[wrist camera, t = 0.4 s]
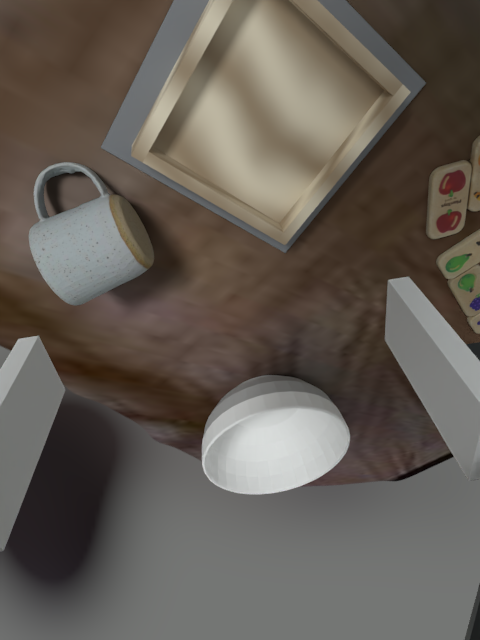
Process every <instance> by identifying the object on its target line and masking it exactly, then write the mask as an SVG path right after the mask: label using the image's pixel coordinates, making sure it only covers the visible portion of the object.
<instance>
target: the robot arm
mask: <svg viewBox="0 0 480 640" xmlns="http://www.w3.org/2000/svg"><path fill="white" fill-rule="evenodd" d="M385 341H386V343H387V344H388V346H389V348H390V349H391V351H392V353H393V355H394V356H395V358H396V360H397V361H398V363H399V365H400V366H401V368H402V370H403V371H404V373H405V375H406V376H407V378H408V380H409V382H410V383H411V385H412V387H413V388H414V390H415V392H416V393H417V395H418V397H419V398H420V400H421V402H422V403H423V405H424V407H425V409H426V410H427V412H428V414H429V415H430V417H431V419H432V420H433V422H434V424H435V425H436V427H437V429H438V431H439V432H440V434H441V436H442V437H443V439H444V441H445V442H446V444H447V446H448V447H449V449H450V451H451V452H452V454H453V456H454V458H455V459H456V461H457V462H458V464H459V466H460V468H461V469H462V471H463V473H464V474H465V476H466V478H467V479H468V481H472V480H478V479H480V342H479V343H472V344H465V343H464V342H463V341H462V339H461V338H460V337H459V336H458V335H457V333H456V332H455V331H454V330H453V329H452V328H451V326H450V325H449V324H448V323H447V322H446V320H445V319H444V318H443V317H442V316H441V314H440V313H439V312H438V311H437V310H436V309H435V307H434V306H433V305H432V304H431V303H430V301H429V300H428V299H427V298H426V297H425V296H424V294H423V293H422V292H421V291H420V290H419V288H418V287H417V286H416V285H415V284H414V282H413V281H412V280H411V279H410V278H409V277H404V278H397V279H391V280H388V288H387V307H386V325H385ZM64 392H65V388H64V386H63V384H62V382H61V380H60V378H59V376H58V374H57V372H56V370H55V368H54V366H53V364H52V362H51V360H50V358H49V356H48V354H47V352H46V350H45V348H44V346H43V344H42V342H41V340H40V338H39V336H34V337H28V338H22V339H18V341H17V342H16V344H15V346H14V347H13V349H12V351H11V352H10V354H9V356H8V357H7V359H6V361H5V362H4V364H3V366H2V367H1V369H0V551H4V548H5V545H6V543H7V540H8V538H9V535H10V533H11V530H12V527H13V524H14V522H15V520H16V517H17V514H18V512H19V509H20V507H21V504H22V501H23V499H24V496H25V494H26V491H27V488H28V486H29V483H30V481H31V478H32V475H33V473H34V470H35V468H36V465H37V462H38V460H39V457H40V455H41V452H42V449H43V447H44V444H45V442H46V439H47V436H48V434H49V431H50V429H51V426H52V423H53V421H54V418H55V416H56V413H57V410H58V408H59V405H60V403H61V400H62V397H63V395H64ZM465 640H480V585H479V589H478V592H477V596H476V599H475V603H474V607H473V611H472V614H471V618H470V622H469V625H468V629H467V633H466V637H465Z"/></svg>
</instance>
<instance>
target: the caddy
mask: <svg viewBox="0 0 480 640" xmlns="http://www.w3.org/2000/svg"><path fill="white" fill-rule="evenodd" d="M410 93H411V92H410V91H409V90H408V89H407V88H406V87H405V86H404V85H403V84H402V83H401V82H400V81H399V80H398V79H397V78H396V77H395V76H394V75H393V74H392V73H391V72H390V71H389V70H388V69H387V68H386V67H385V66H384V65H383V64H382V63H381V62H380V61H379V60H378V59H377V58H376V57H375V56H374V55H373V54H372V53H371V52H370V51H369V50H368V49H367V48H365V47H364V46H363V45H362V44H361V43H360V42H359V41H358V40H357V39H356V38H355V37H354V36H353V35H352V34H351V33H350V32H349V31H348V30H347V29H346V28H345V27H344V26H343V25H342V24H341V23H340V22H339V21H338V20H337V19H336V18H335V17H334V16H333V15H332V14H331V13H330V12H329V11H328V10H327V9H326V8H325V7H324V6H323V5H322V4H321V3H320V2H319V1H318V0H209V1H208V3H207V5H206V7H205V9H204V11H203V13H202V15H201V16H200V18H199V20H198V22H197V24H196V26H195V28H194V30H193V32H192V33H191V35H190V37H189V39H188V41H187V43H186V45H185V47H184V48H183V50H182V52H181V54H180V56H179V58H178V60H177V62H176V63H175V65H174V67H173V69H172V71H171V73H170V75H169V77H168V78H167V80H166V82H165V84H164V86H163V88H162V90H161V92H160V93H159V95H158V97H157V99H156V101H155V103H154V105H153V107H152V109H151V110H150V112H149V114H148V116H147V118H146V120H145V122H144V124H143V125H142V127H141V129H140V131H139V133H138V135H137V137H136V139H135V140H134V142H133V144H132V150H131V156H132V157H134V158H136V159H137V160H139V161H141V162H143V163H144V164H146V165H148V166H149V167H151V168H153V169H155V170H156V171H158V172H160V173H161V174H163V175H165V176H167V177H168V178H170V179H172V180H173V181H175V182H177V183H179V184H180V185H182V186H184V187H186V188H187V189H189V190H191V191H192V192H194V193H196V194H198V195H199V196H201V197H203V198H204V199H206V200H208V201H210V202H211V203H213V204H215V205H216V206H218V207H220V208H222V209H223V210H225V211H227V212H228V213H230V214H232V215H234V216H235V217H237V218H239V219H241V220H242V221H244V222H246V223H247V224H249V225H251V226H253V227H254V228H256V229H258V230H259V231H261V232H263V233H265V234H266V235H268V236H270V237H271V238H273V239H275V240H277V241H278V242H280V243H282V244H283V245H286V244H287V242H288V241H289V240H290V239H291V238H292V236H293V235H294V234H295V233H296V231H297V230H298V229H299V228H300V227H301V225H302V224H303V223H304V222H305V220H306V219H307V218H308V217H309V216H310V214H311V213H312V212H313V211H314V210H315V208H316V207H317V206H318V205H319V203H320V202H321V201H322V200H323V199H324V197H325V196H326V195H327V194H328V192H329V191H330V190H331V189H332V188H333V186H334V185H335V184H336V183H337V181H338V180H339V179H340V178H341V177H342V175H343V174H344V173H345V172H346V171H347V169H348V168H349V167H350V166H351V164H352V163H353V162H354V161H355V160H356V158H357V157H358V156H359V155H360V153H361V152H362V151H363V150H364V149H365V147H366V146H367V145H368V144H369V142H370V141H371V140H372V139H373V138H374V136H375V135H376V134H377V133H378V132H379V130H380V129H381V128H382V127H383V125H384V124H385V123H386V122H387V121H388V119H389V118H390V117H391V116H392V114H393V113H394V112H395V111H396V110H397V108H398V107H399V106H400V105H401V103H402V102H403V101H404V100H405V99H406V97H407V96H408V95H409V94H410Z"/></svg>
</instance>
